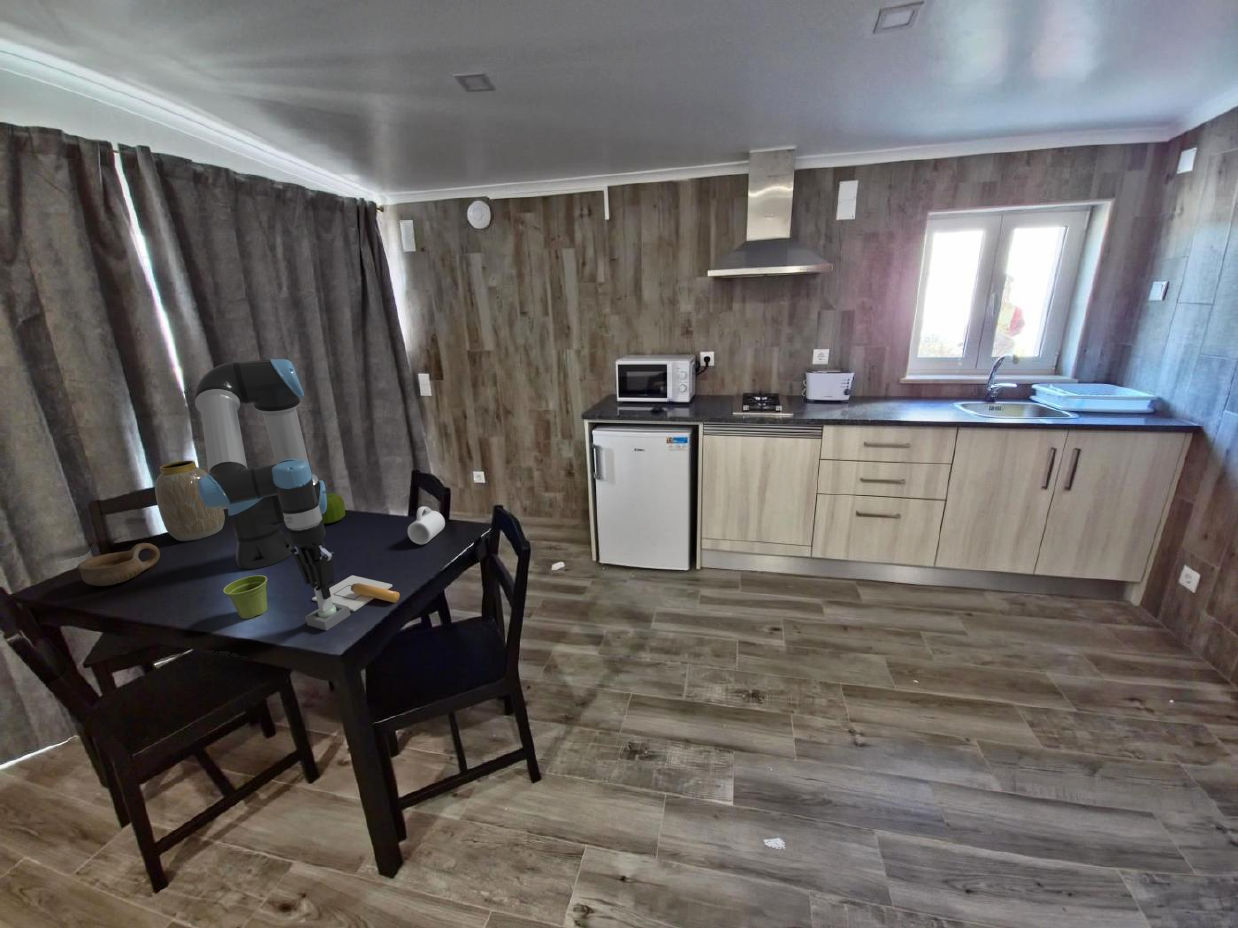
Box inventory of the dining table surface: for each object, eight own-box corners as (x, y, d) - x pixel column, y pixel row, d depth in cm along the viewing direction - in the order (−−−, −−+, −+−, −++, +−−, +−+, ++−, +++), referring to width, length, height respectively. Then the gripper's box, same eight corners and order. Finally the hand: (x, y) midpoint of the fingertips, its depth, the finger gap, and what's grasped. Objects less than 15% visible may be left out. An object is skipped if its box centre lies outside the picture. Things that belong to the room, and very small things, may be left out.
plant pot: (246, 603, 138) (238, 576, 135) (282, 601, 138) (274, 573, 136) (224, 624, 129) (214, 595, 126) (262, 621, 129) (253, 592, 127)
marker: (349, 585, 137) (391, 595, 133) (357, 580, 140) (399, 590, 136) (350, 594, 138) (392, 604, 134) (358, 589, 140) (400, 599, 137)
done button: (316, 620, 128) (314, 611, 127) (330, 611, 131) (328, 603, 130) (327, 623, 126) (325, 614, 125) (341, 614, 130) (339, 606, 129)
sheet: (312, 600, 138) (312, 598, 138) (352, 576, 149) (351, 575, 149) (354, 611, 132) (353, 609, 132) (392, 586, 143) (392, 584, 143)
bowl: (140, 556, 165) (136, 531, 162) (171, 571, 162) (168, 546, 159) (70, 584, 149) (64, 556, 145) (104, 601, 146) (99, 573, 143)
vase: (201, 523, 194) (179, 457, 186) (240, 524, 192) (220, 457, 184) (156, 543, 178) (131, 472, 170) (198, 544, 176) (174, 472, 167)
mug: (446, 531, 177) (441, 500, 174) (431, 545, 168) (426, 512, 164) (425, 531, 179) (420, 500, 175) (409, 544, 169) (403, 511, 165)
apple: (307, 526, 187) (301, 499, 184) (328, 514, 197) (322, 489, 194) (334, 527, 185) (327, 500, 182) (353, 515, 195) (347, 489, 192)
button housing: (307, 624, 127) (305, 616, 126) (331, 609, 133) (329, 601, 132) (326, 630, 124) (324, 622, 124) (350, 614, 130) (348, 606, 130)
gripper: (271, 527, 120) (295, 611, 127) (309, 534, 115) (331, 621, 122) (301, 515, 126) (322, 596, 133) (337, 521, 121) (357, 605, 128)
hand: (326, 608), depth 128 cm, fingers closed
